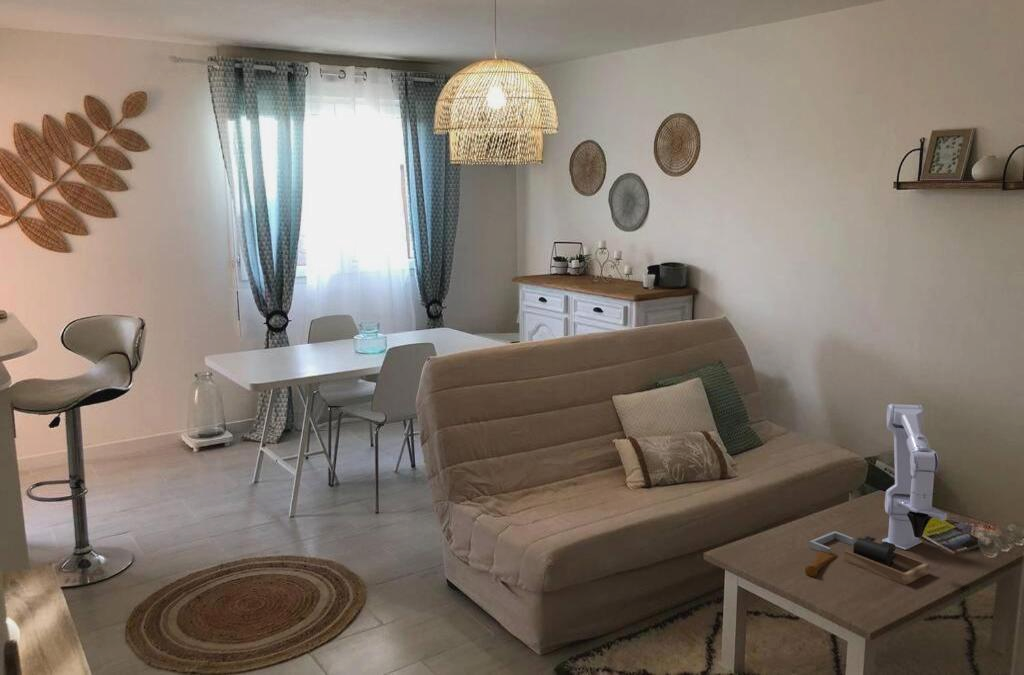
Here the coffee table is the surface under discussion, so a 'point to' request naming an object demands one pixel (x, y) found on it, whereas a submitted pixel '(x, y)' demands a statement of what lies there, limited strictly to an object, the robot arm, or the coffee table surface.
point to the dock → (821, 540)
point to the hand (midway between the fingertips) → (918, 536)
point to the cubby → (905, 578)
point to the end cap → (875, 550)
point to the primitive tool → (819, 563)
